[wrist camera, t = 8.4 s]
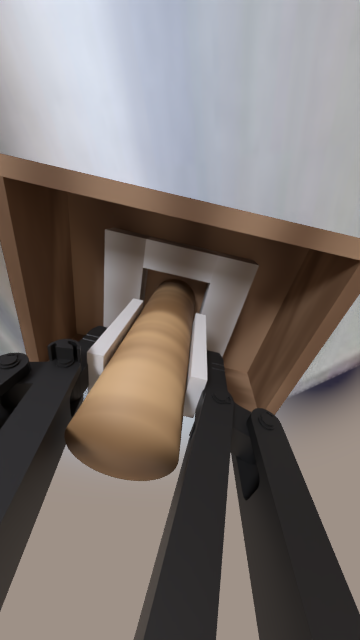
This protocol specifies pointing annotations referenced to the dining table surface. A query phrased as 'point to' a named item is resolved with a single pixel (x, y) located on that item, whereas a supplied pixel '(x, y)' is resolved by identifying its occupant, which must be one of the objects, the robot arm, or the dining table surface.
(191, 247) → the box
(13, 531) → the robot arm
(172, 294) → the dowel
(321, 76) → the dining table surface
